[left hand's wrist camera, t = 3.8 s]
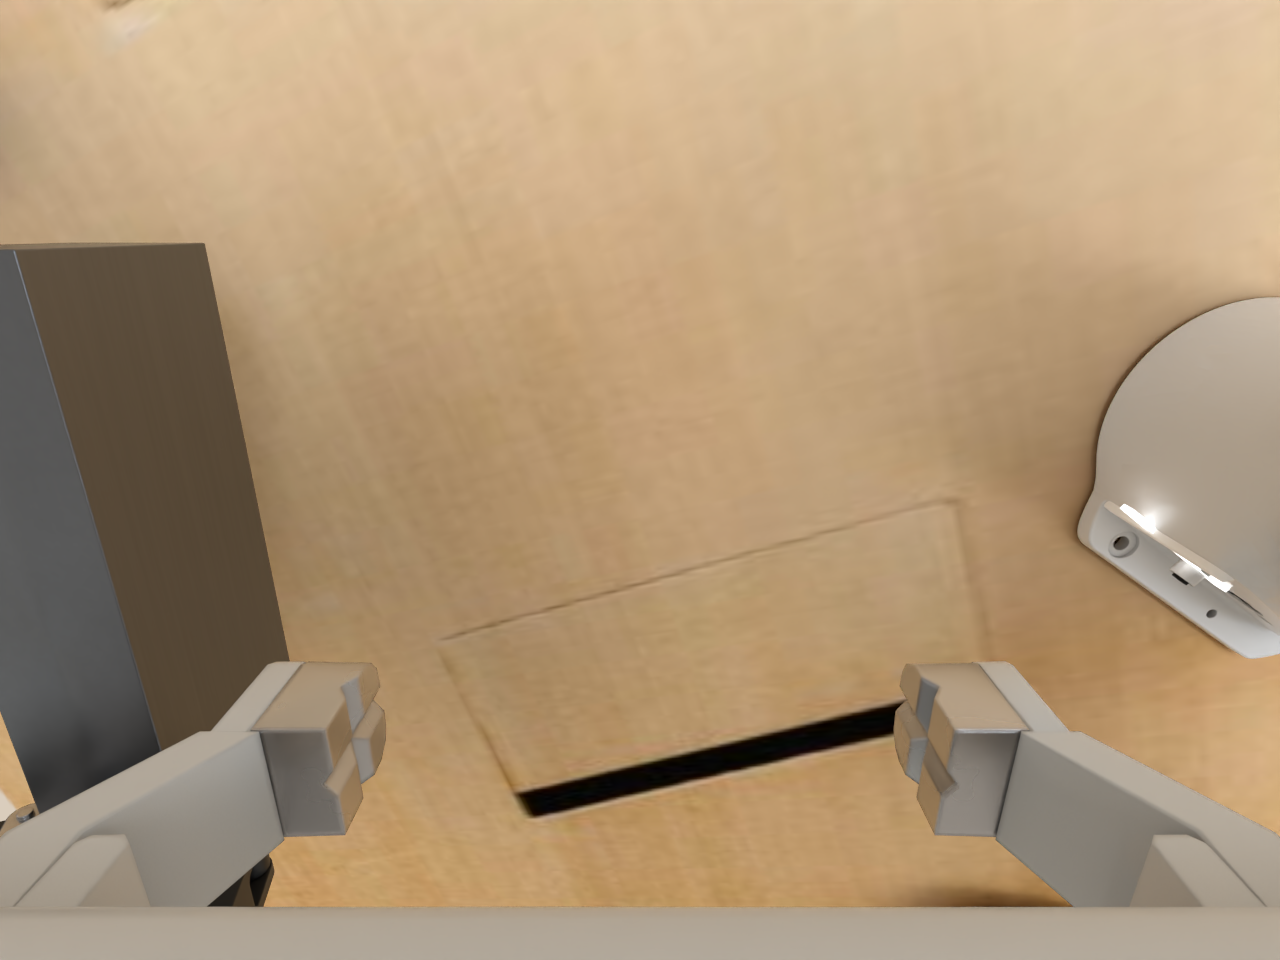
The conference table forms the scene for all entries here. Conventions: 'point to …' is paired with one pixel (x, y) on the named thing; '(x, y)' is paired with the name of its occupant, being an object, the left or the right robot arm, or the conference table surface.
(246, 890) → the right robot arm
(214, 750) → the left robot arm
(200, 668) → the bar
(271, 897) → the conference table surface
